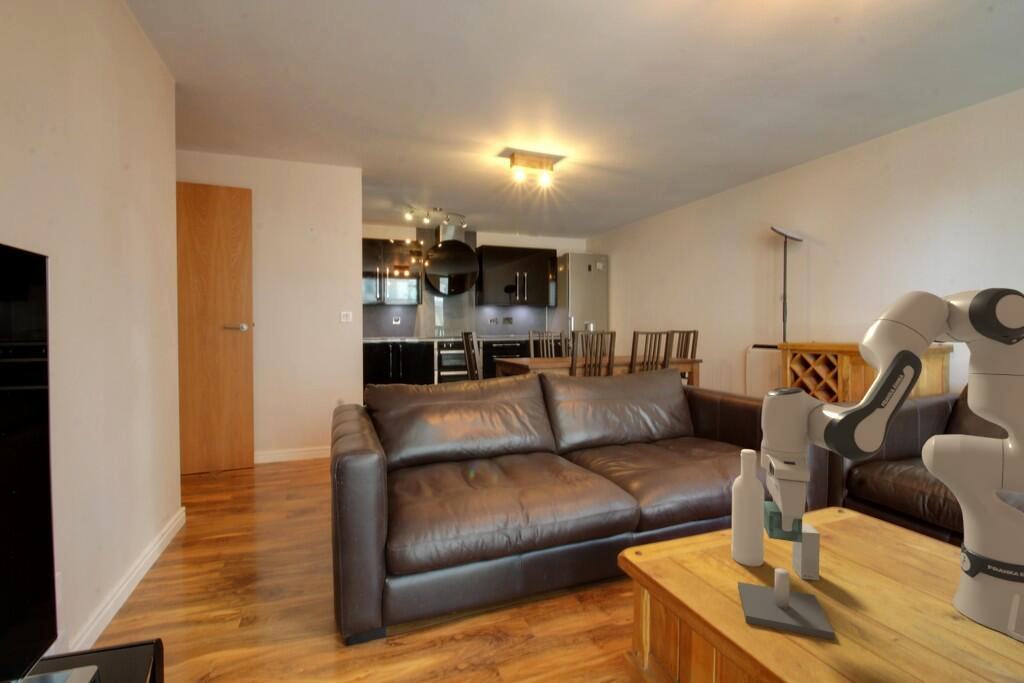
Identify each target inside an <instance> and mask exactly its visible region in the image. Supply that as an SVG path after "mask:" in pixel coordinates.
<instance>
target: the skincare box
mask: <svg viewBox="0 0 1024 683" xmlns="http://www.w3.org/2000/svg"><path fill="white" fill-rule="evenodd" d="M820 536H821V534H820V532H819V531H817V529H815V527H814V526H812V525H811V524H809V523H802V543H800V542H793V541H792V546H791V547H792V550H791V551H792V552H791V554H792V557H791V558H792V559H791V567H792V570H794V571H795V573H796V574H797V575H798V576H799V577H800V578H801V579H803V580H810V579H811V581H819V580H820V549H821V547H820V545H821V544H820V543H821V542H820V541H821V537H820ZM812 579H813V580H812Z"/></svg>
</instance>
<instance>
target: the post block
mask: <svg viewBox="0 0 1024 683" xmlns="http://www.w3.org/2000/svg"><path fill="white" fill-rule="evenodd" d="M737 589H738V593H739V594H738V595H739V598H740V602H741V607H742V612H743V617H744V620H745V623H746V624H752V625H756V626H761V627H767V628H772V629H777V630H783V631H787V632H791V633H793V632H794V633H799V634H803V635H807V636H813V637H817V636H818V637H819V638H823V639H829V640H833V641H834V640H835V639H834V638H835V632H834V630H833V628H832V626H831V624H830V622H829V620H828V618H827V617H826V614H825V612H824V610H823V608H822V606H821V604H820V602H819V600H818V598H817V596H816V594H811V593H806V592H801V591H795V590H790V571H788V570H787V569H784V568H779V567H777V568H775V569H774V587H773V586H772V587H771V586H766V585H765V586H764V585H759V584H755V583H754V584H753V583H749V582H748V583H747V582H742V581H737Z"/></svg>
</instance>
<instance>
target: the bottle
mask: <svg viewBox="0 0 1024 683" xmlns="http://www.w3.org/2000/svg"><path fill="white" fill-rule="evenodd" d="M757 457H758V456H757V451H756V450H753V449H749V448H748V449H747V448H746V449H745V448H744V449H742V450H741V451H740V475H738V476H737V477H735V479H734V482H733V483H732V489H731V490H732V492H731V547H730V548H731V549H730V552H731V558H732V560H734V561H735V562H737V564H738V563H739V564H740V565H743V566H747V567H761V566H762V565H763V564H764V558H765V550H764V548H765V546H764V545H765V544H764V543H765V541H764V540H765V539H764V538H765V537H764V535H765V528H764V501H765V489H764V486H763V483H762V481H761V480H759V479H758V477H757Z"/></svg>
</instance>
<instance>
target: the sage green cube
mask: <svg viewBox="0 0 1024 683" xmlns="http://www.w3.org/2000/svg"><path fill="white" fill-rule="evenodd" d="M781 520H782V513H781V511H780V510H779V508H778V506H777V504H776V502H773V501H768V500H767V501H766V500H764V531H765V533H766V534H767V537H768V539H773V540H779V541H786V542H792V543H793V542H800V543H802V524H803V517H802V518H801V519H796V518H794V520H793V523H792V531H790V532H789V531H784V530H783V529H782V527H781Z"/></svg>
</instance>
